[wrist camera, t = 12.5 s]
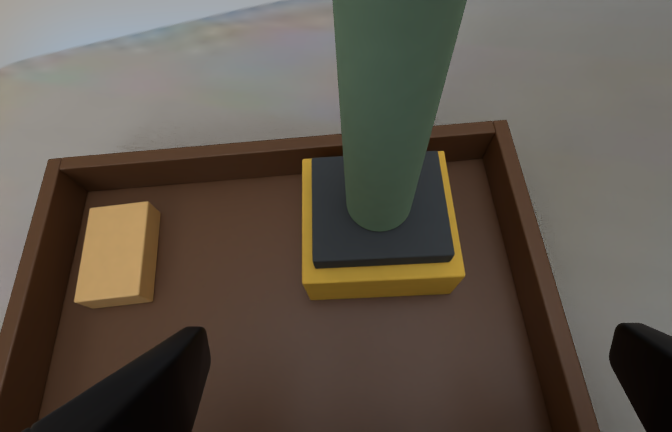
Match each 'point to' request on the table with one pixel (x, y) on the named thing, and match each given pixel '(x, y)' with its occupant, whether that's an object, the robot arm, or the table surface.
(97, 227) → the tan rectangular slab
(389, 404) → the tray
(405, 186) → the sponge wand
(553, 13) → the table surface
